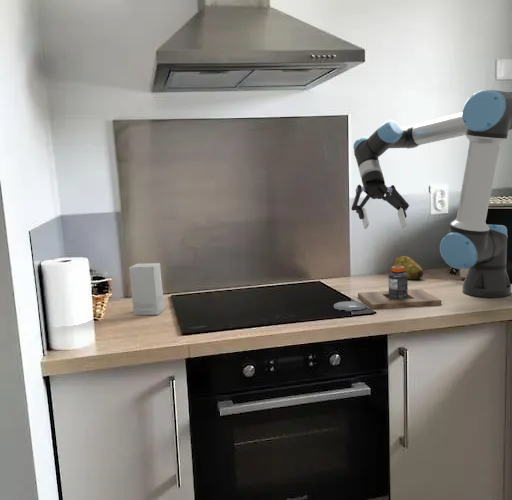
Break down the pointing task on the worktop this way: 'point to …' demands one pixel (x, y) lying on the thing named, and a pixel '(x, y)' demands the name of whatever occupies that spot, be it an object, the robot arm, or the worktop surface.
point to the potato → (409, 267)
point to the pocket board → (414, 299)
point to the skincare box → (146, 289)
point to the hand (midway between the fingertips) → (385, 226)
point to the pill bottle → (398, 283)
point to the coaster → (349, 305)
